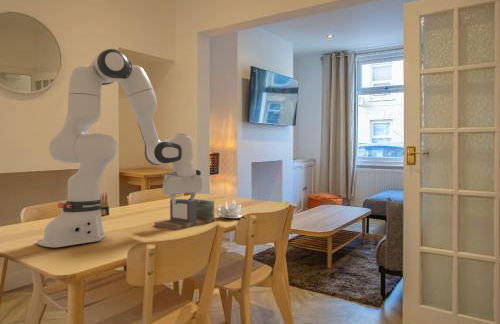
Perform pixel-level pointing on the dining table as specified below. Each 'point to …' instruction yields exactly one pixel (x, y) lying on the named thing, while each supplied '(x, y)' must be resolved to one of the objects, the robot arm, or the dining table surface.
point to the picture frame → (183, 210)
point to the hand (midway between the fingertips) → (183, 203)
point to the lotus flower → (230, 210)
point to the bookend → (202, 216)
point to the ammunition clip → (104, 205)
